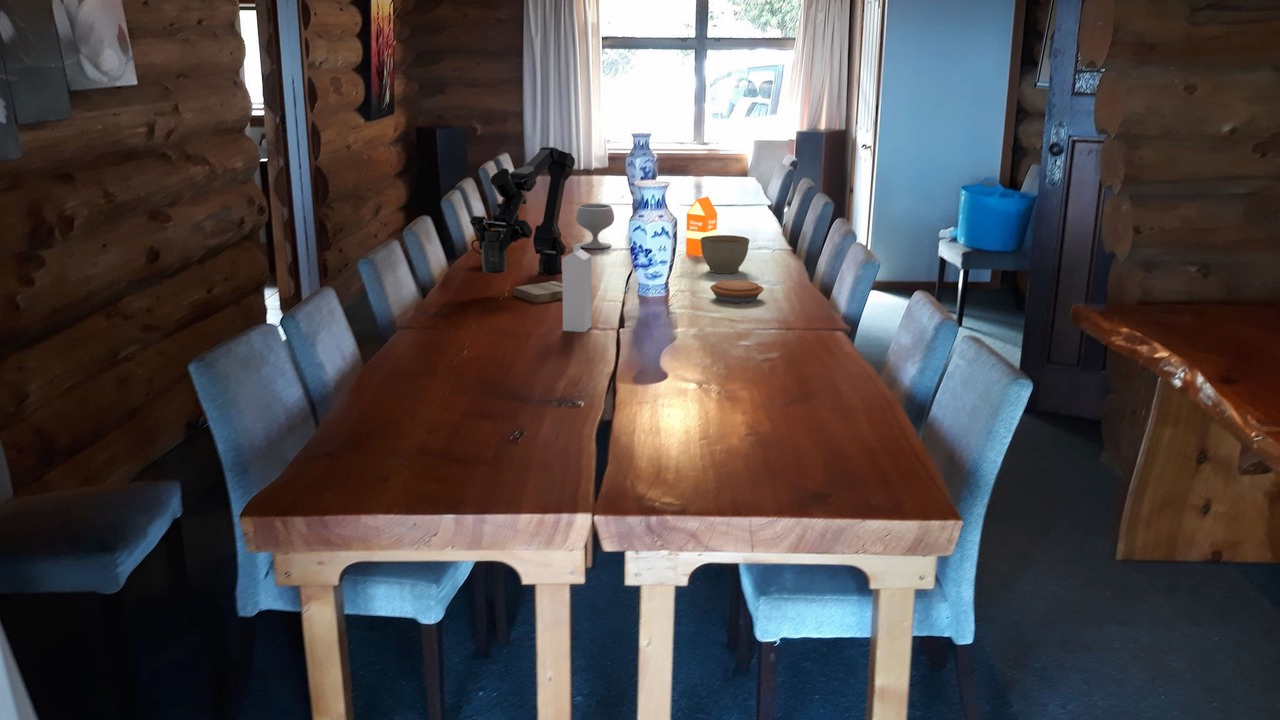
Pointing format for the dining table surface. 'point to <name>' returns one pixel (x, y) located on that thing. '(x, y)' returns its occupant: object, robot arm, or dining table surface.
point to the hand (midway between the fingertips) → (490, 250)
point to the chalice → (595, 222)
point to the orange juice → (700, 224)
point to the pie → (736, 291)
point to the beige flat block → (540, 292)
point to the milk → (576, 290)
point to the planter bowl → (724, 252)
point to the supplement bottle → (493, 253)
